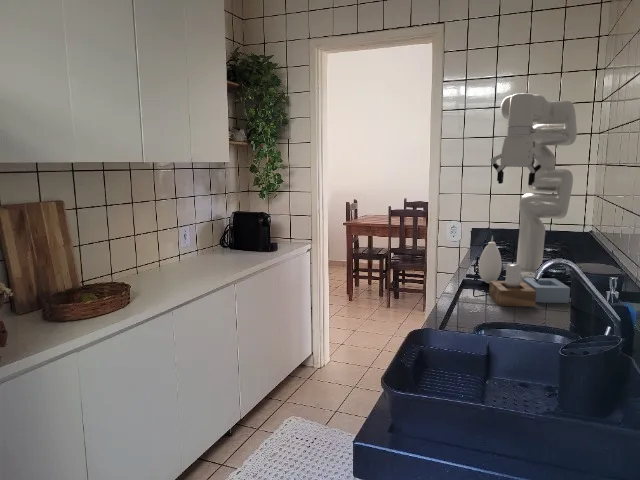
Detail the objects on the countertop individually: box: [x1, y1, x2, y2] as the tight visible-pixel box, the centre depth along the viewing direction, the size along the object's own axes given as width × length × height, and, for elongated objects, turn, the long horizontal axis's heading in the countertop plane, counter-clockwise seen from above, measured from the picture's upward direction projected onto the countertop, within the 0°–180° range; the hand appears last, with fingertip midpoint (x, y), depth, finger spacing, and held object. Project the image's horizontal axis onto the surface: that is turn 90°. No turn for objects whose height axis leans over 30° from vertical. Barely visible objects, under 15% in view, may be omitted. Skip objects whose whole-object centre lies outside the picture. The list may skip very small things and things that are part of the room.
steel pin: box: [504, 263, 521, 289], centre depth 152 cm, size 4×4×12 cm
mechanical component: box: [520, 272, 535, 281], centre depth 170 cm, size 10×4×10 cm
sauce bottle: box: [478, 235, 503, 285], centre depth 171 cm, size 8×8×18 cm
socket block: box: [522, 277, 571, 304], centre depth 156 cm, size 11×11×5 cm
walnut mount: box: [488, 280, 536, 307], centre depth 153 cm, size 11×11×5 cm
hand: (515, 184), depth 158 cm, fingers open, 9 cm apart
